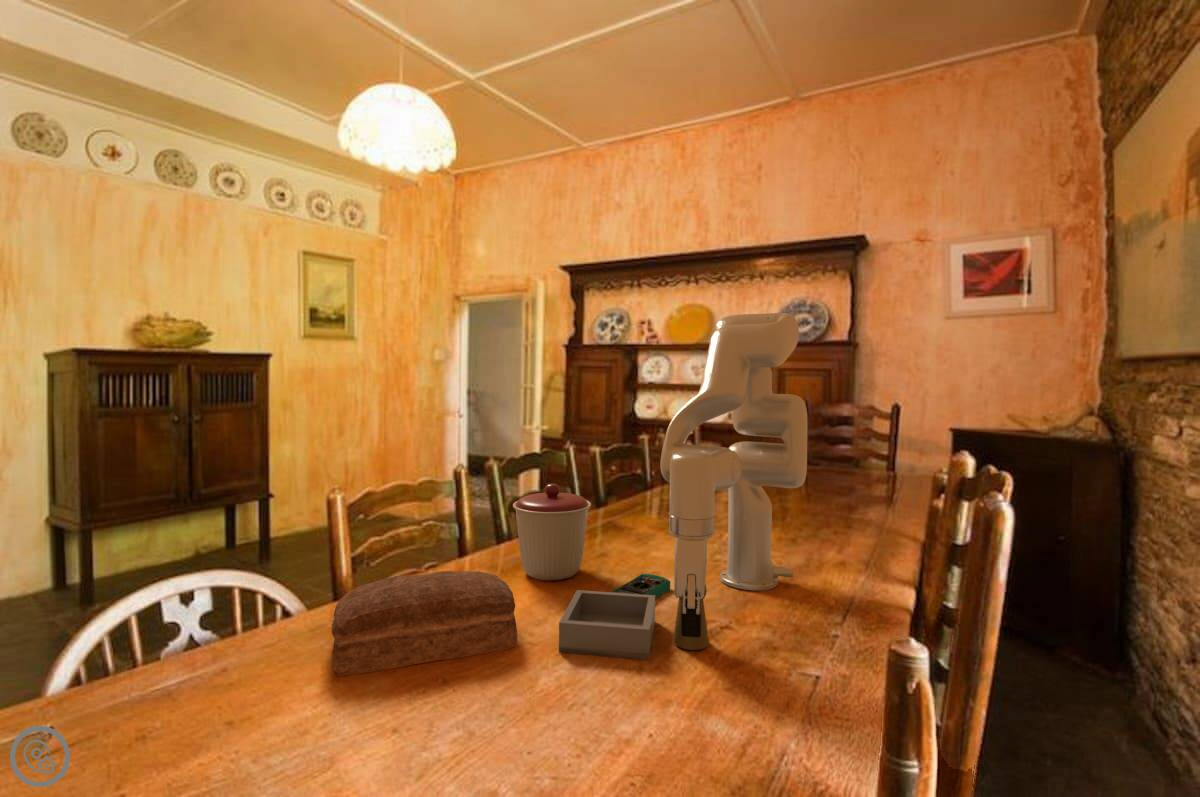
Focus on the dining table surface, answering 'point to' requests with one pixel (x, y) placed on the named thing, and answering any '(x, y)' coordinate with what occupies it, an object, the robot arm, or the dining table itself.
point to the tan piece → (691, 642)
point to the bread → (421, 620)
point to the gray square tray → (608, 625)
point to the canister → (551, 533)
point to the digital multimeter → (645, 585)
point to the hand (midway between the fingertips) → (691, 630)
